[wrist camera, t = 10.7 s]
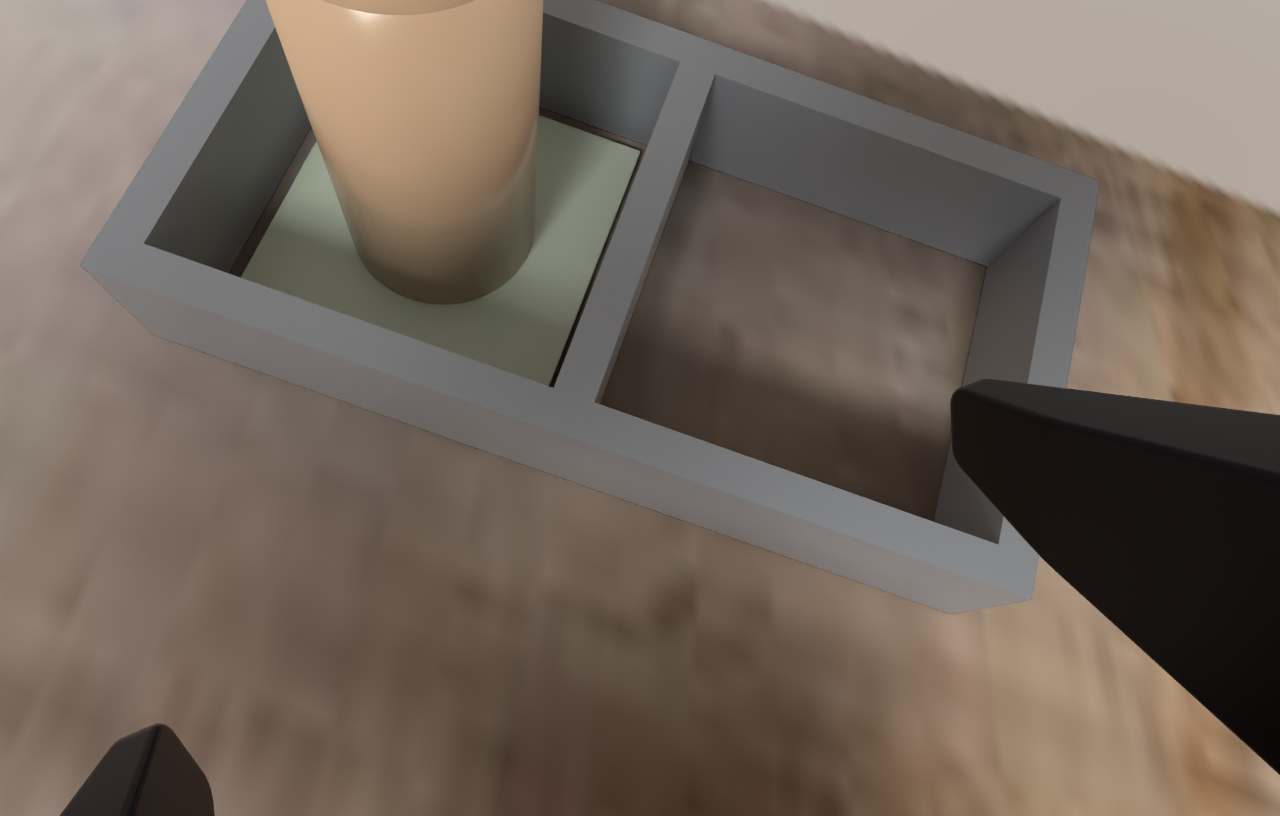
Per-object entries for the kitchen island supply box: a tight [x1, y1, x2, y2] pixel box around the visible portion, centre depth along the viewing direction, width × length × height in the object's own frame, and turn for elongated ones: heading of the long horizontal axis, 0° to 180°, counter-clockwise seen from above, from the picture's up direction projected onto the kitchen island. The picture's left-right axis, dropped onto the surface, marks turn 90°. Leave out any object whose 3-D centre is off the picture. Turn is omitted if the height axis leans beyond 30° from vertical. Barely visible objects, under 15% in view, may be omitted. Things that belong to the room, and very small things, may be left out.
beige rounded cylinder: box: [266, 0, 543, 304], centre depth 19 cm, size 5×5×14 cm
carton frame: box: [80, 0, 1100, 614], centre depth 23 cm, size 12×23×4 cm, turn 72°
